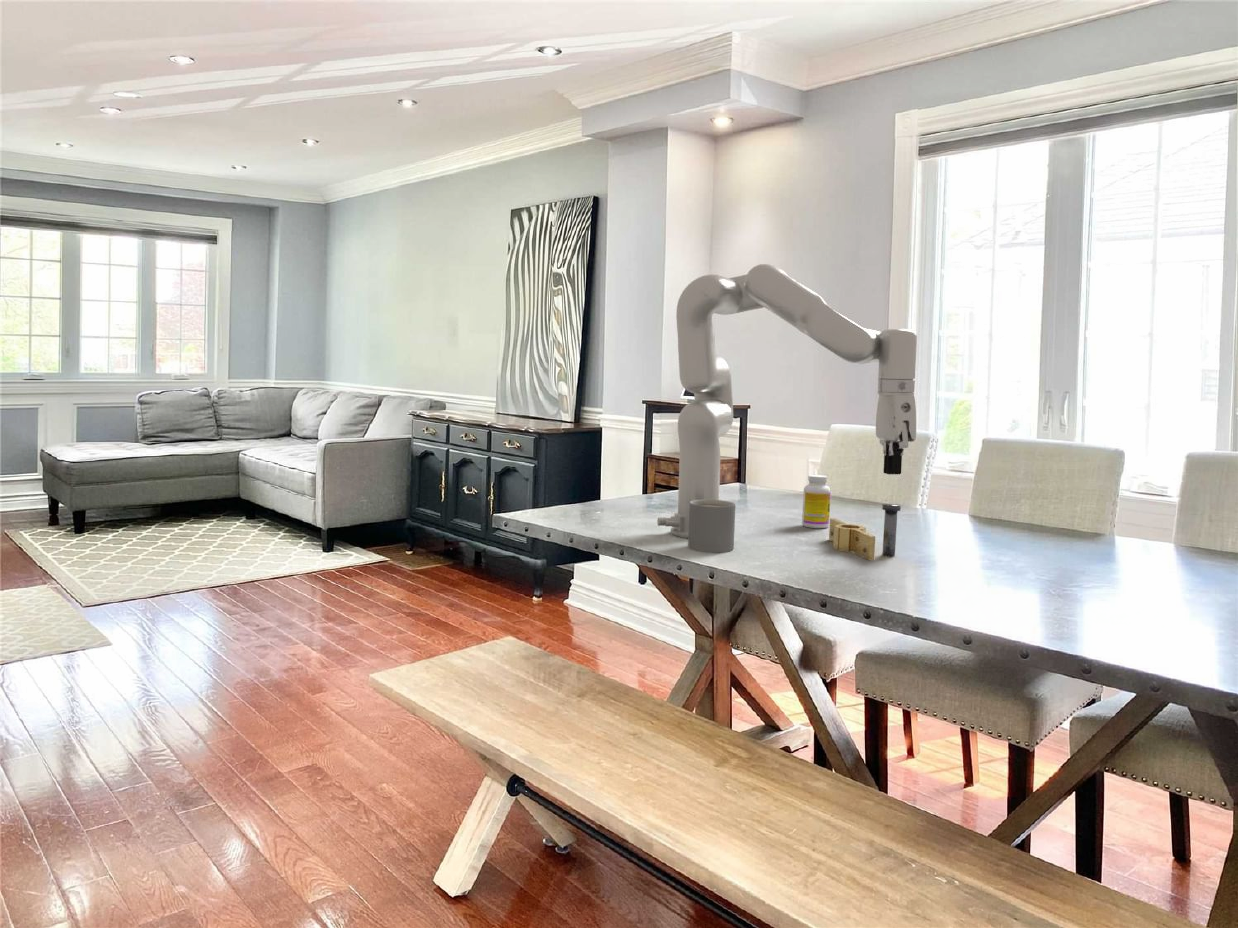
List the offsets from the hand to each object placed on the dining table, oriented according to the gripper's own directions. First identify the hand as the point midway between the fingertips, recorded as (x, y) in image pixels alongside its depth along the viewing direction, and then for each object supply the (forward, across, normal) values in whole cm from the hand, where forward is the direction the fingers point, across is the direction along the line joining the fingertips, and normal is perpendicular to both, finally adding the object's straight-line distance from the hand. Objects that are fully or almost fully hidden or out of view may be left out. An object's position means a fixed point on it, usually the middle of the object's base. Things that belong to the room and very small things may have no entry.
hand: (892, 473), depth 199 cm
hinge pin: (+18, 0, 0) cm, 18 cm away
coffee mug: (+18, +11, +36) cm, 42 cm away
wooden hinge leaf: (+18, +14, +6) cm, 23 cm away
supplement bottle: (+18, +34, +3) cm, 38 cm away
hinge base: (+18, +3, +6) cm, 19 cm away
